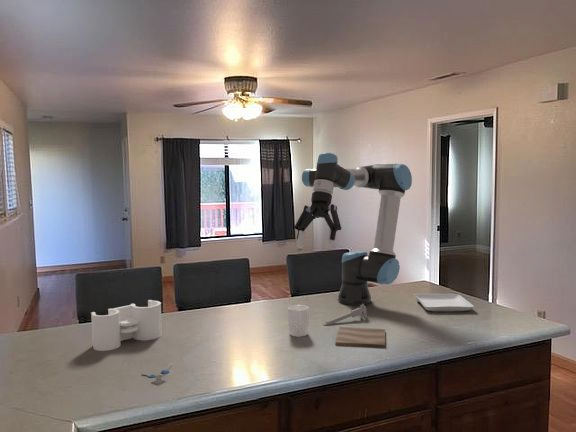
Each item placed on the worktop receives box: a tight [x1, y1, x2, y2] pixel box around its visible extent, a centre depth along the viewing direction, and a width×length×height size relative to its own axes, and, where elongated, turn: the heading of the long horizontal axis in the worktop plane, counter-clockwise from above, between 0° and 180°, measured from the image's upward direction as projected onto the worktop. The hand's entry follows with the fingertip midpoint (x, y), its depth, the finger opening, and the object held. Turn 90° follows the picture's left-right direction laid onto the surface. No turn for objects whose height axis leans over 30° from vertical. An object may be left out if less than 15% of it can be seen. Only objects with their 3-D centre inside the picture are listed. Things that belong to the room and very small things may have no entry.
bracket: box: [90, 299, 163, 352], centre depth 175 cm, size 25×10×12 cm, turn 134°
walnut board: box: [335, 326, 386, 349], centre depth 176 cm, size 17×17×1 cm
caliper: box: [322, 304, 368, 327], centre depth 195 cm, size 20×1×6 cm, turn 117°
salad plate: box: [413, 293, 475, 312], centre depth 216 cm, size 21×21×3 cm
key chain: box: [141, 365, 173, 386], centre depth 145 cm, size 14×8×1 cm, turn 5°
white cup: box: [287, 304, 310, 338], centre depth 181 cm, size 8×8×10 cm
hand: (313, 248), depth 178 cm, fingers open, 13 cm apart
